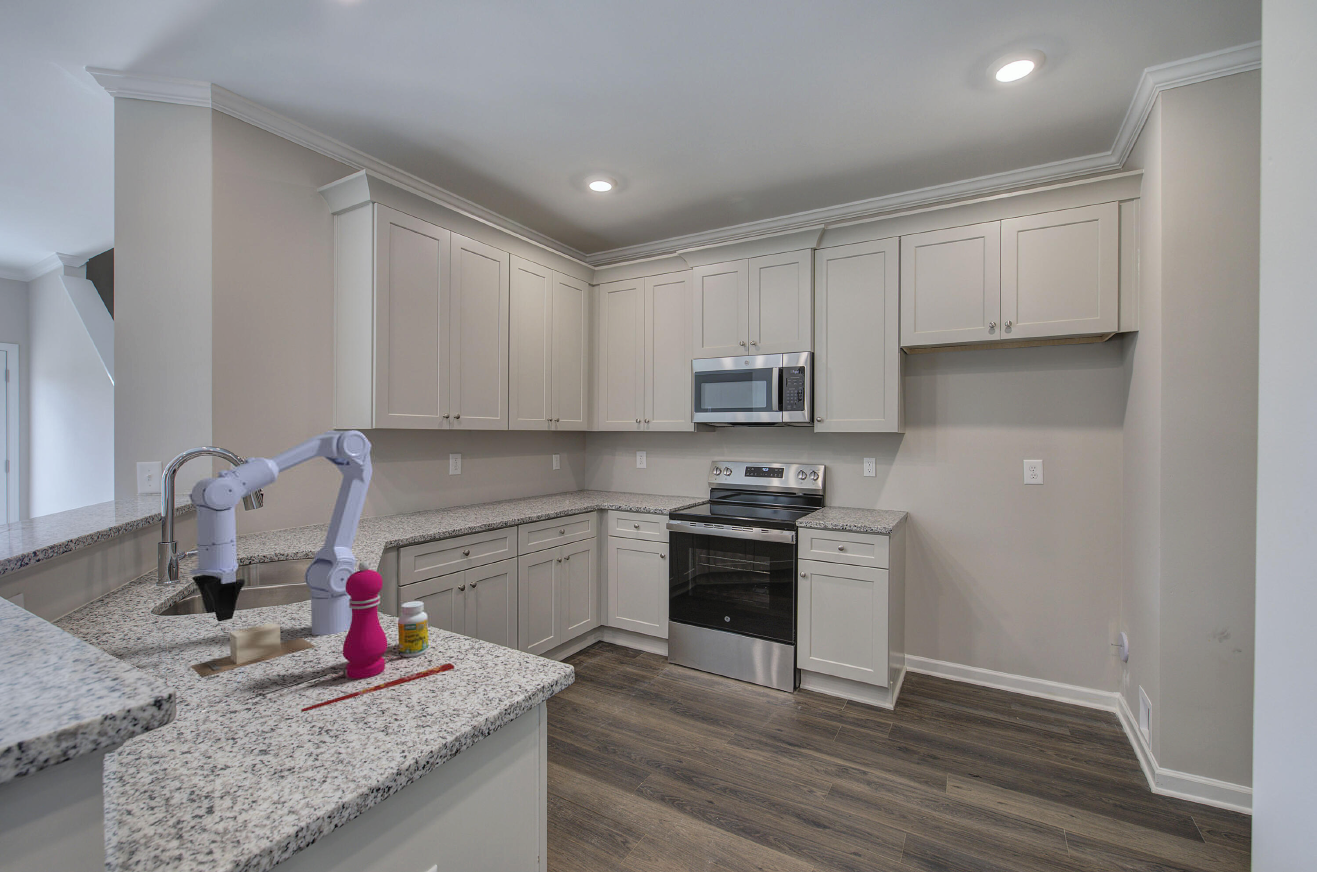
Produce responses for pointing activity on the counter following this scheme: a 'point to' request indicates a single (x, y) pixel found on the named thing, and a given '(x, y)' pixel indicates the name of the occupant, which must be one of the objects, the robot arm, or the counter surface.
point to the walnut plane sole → (228, 664)
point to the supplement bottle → (413, 629)
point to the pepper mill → (364, 625)
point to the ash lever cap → (255, 643)
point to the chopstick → (388, 684)
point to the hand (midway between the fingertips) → (219, 615)
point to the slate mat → (286, 687)
